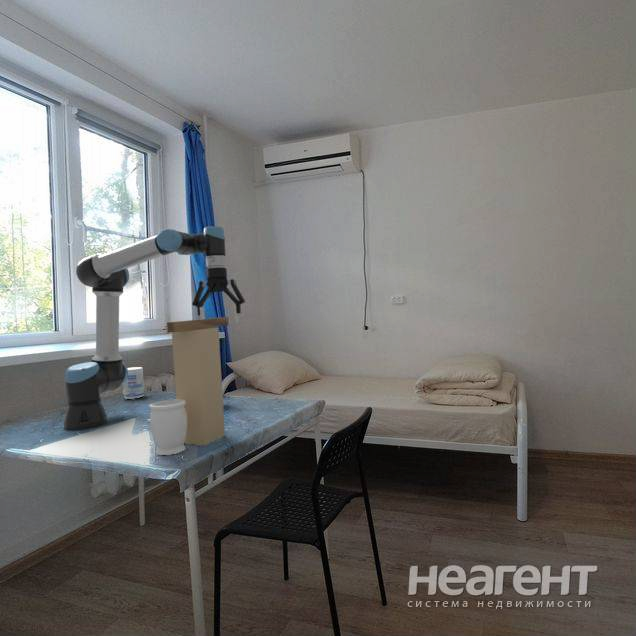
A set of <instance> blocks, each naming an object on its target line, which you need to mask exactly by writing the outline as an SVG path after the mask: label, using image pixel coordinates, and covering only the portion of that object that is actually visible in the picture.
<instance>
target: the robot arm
mask: <svg viewBox="0 0 636 636" xmlns="http://www.w3.org/2000/svg"><path fill="white" fill-rule="evenodd" d="M173 253H177V254H178V255H181V256H182V255H184V256H185V255H186V256H189V255H195V254H205V266H206V268H207V269H206V279H207V280H206V281H201V280H200V281H199V282H198V289H197V291H196V294H195V296H194V298H193V301H192V303H191V304H192V306H194V307H197V315H198V316H199V318H200V319H206V314H205V306H204V304H205V303H206V301H207V300H208V298H210V296H211V295H212V294H213V293H222V292H223V293H225V295H226V296H228V297H229V298H230V300H231V301H232V302H233V303H234V305H233V313H234V323H240V316H239V314H241V313H242V311H241V305H242V304H245V302H246V300H245V299H244V297H243V295H242V293H241V291H240V289H239V288H238V286H237V281H236V279H233V278H231V279H229V280H228V271H227V270H228V269H227V268H226V267H227V256H226V255H227V254H226V238H225V230H224V228H223V227H222V226H218V225H217V226H215V225H214V226H211V225H210V226H205V227H204V228H203V232H202V233H191V234H190V233H187V232H182V231H178V230H175V229H171V228H166V229H165V228H164V229H161V230H160V231H159V233H157V235H154V236H151V237H148V238H146V239H143V240H140V241H137V242H135V243H132V244H129V245H126V246H124V247H121V248H118V249H115V250H113V251H109V252H107V253H103V254H102V253H96V254H92V255H89V256H87V257H85V258H83V259H81V260H80V261H79V262H78V264H77V266H76V269H75V273H76V277H77V279H78V281H79V282H80V283H81V284H83V285H84V286H87V287H89V288H91V290H92V291H91V292H92V293H93V295H95V297H96V301H95V303H96V304H95V306H96V309H95V316H96V317H95V318H96V319H95V354H94V356H93V357H91V361H87V362H83V363H77V364H74V365H71V366H69V367H68V368H67V369H66V370H65V379H64V380H65V388H66V390H65V391H66V399H67V400H66V401H67V409H66V413H65V418H64V421H63V428H64V429H65V430H71V431H74V430H76V431H77V430H79V431H80V430H85V429H92V428H97V427H100V426H102V425H105V424H107V423H108V421H109V420H108V415H107V414H106V411H105V408H104V406H103V403H102V396H101V395H102V394H103V393H106V392H109V391H114V390H116V389H118V388H121V387H123V384H124V383H125V382H126V380H127V377H128V369H127V368H128V367H127V366H126V364H125V363H124V361H123V357H122V356H121V355H120V353H119V352H120V351H119V347H120V345H119V343H120V342H119V340H120V336H119V335H120V323H119V322H120V296H121V295H123V294H124V287H125V286H126V285H127V284H128V283H129V280H130V271H129V270H128V269H129V268H131V267H135V266H137V265H140V264H143V263H146V262H149V261H152V260H154V259H157V258H160V257H163V256H167V255H169V254H173ZM228 285H229V286H231V288H232V289H233V292H234V294H233V292H231V290H230V289H229V288H228ZM205 287H208V288H207V290H206V291H205V293H204V294H203V292H204V290H205ZM202 295H203V296H202ZM235 295H236V296H235Z"/></svg>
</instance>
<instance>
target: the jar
mask: <svg viewBox="0 0 636 636" xmlns="http://www.w3.org/2000/svg"><path fill="white" fill-rule="evenodd" d="M185 404H186V402H185V400H181V399H176V398H175V399H174V398H173V399H164V400H159V401H155V402H151V403H150V404H148V407H149V410H151V412H150V415H149V416H150V418H149V420H150V421H149V422H150V423H149V425H150V432H151V434H152V440H153V443H154V445H155V447H156V448H157V449H156V451H155V453H156V454H157V456H162V455H167V456H173V455H172V454H174V455H177V453H178V454H180V452H181V453H183V452H184V451H186V446H185V444H184V442H185V439H186V430H187V415H186V410H185V408H184V405H185ZM182 451H183V452H182Z"/></svg>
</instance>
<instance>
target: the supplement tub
mask: <svg viewBox="0 0 636 636" xmlns="http://www.w3.org/2000/svg"><path fill="white" fill-rule="evenodd" d="M127 369H128V377H127V380H126V382H125V383H124V384H123V385H122V390H123V391H122V394H123V398H125V399H124V400H127V399H132V400H135V399H134V398H140V397H143V396H144V397H145V382H144V372H143V371H144V369H143V367H141V366H139V367H138V366H133V367H127ZM144 397H143V398H144ZM140 399H141V398H140Z"/></svg>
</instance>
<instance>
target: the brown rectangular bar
mask: <svg viewBox="0 0 636 636" xmlns="http://www.w3.org/2000/svg"><path fill="white" fill-rule="evenodd" d="M227 326H229V316H228V317H227V316H226V317H225V316H223V317H210V318H209V317H208V318H205V319H199V318H198V319H190V320H189V319H188V320H179V321H170V322H166V328H167V329H166V331H167V333H172V332H183V331H191V330H198V329H206V328H220V327H227Z"/></svg>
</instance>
